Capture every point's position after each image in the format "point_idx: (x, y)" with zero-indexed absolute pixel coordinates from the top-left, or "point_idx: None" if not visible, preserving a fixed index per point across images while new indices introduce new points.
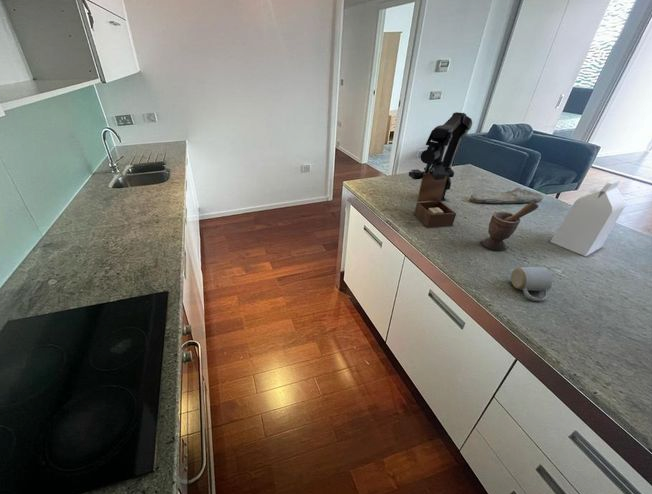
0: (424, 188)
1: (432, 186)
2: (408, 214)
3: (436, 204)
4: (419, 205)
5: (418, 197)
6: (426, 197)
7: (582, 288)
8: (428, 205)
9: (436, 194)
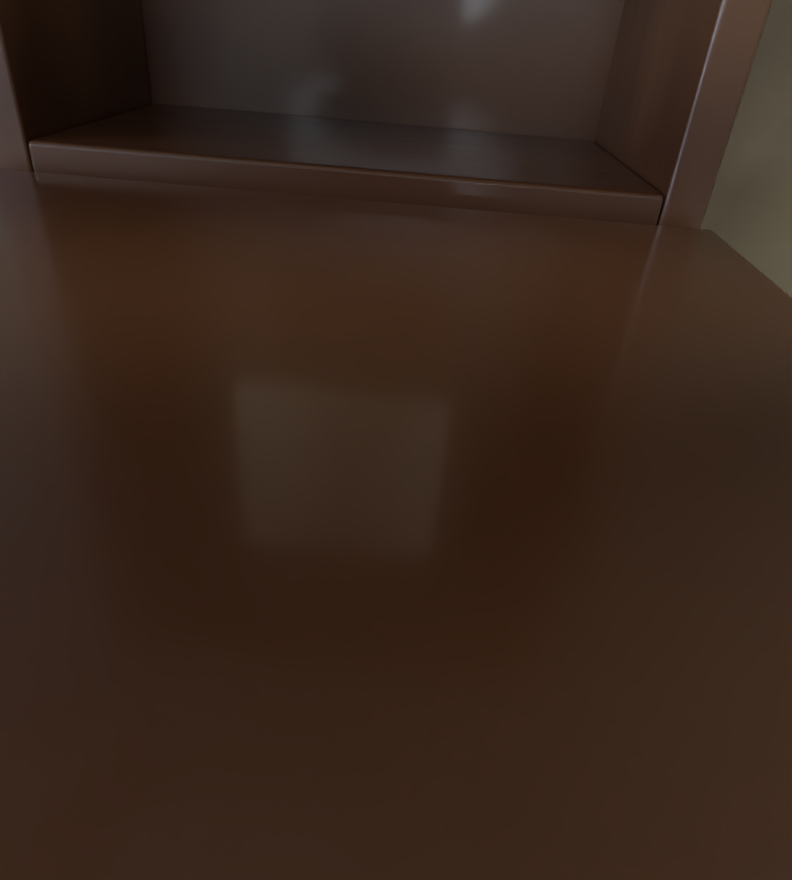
0: (771, 467)
1: (236, 488)
2: (718, 190)
3: (138, 131)
4: (748, 55)
5: (771, 284)
6: (466, 245)
7: None
8: (360, 149)
9: (72, 243)
